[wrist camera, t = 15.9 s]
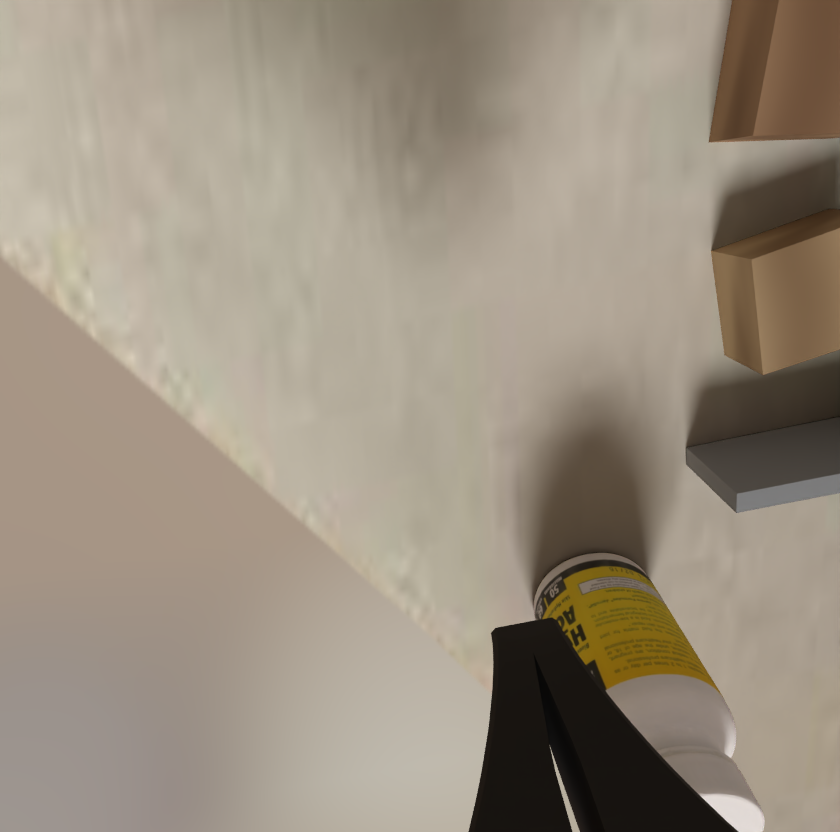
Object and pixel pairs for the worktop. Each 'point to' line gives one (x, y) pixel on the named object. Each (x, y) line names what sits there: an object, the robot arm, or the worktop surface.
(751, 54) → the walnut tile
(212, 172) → the worktop surface
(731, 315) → the oak tile
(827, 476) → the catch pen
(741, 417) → the worktop surface
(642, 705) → the supplement bottle
